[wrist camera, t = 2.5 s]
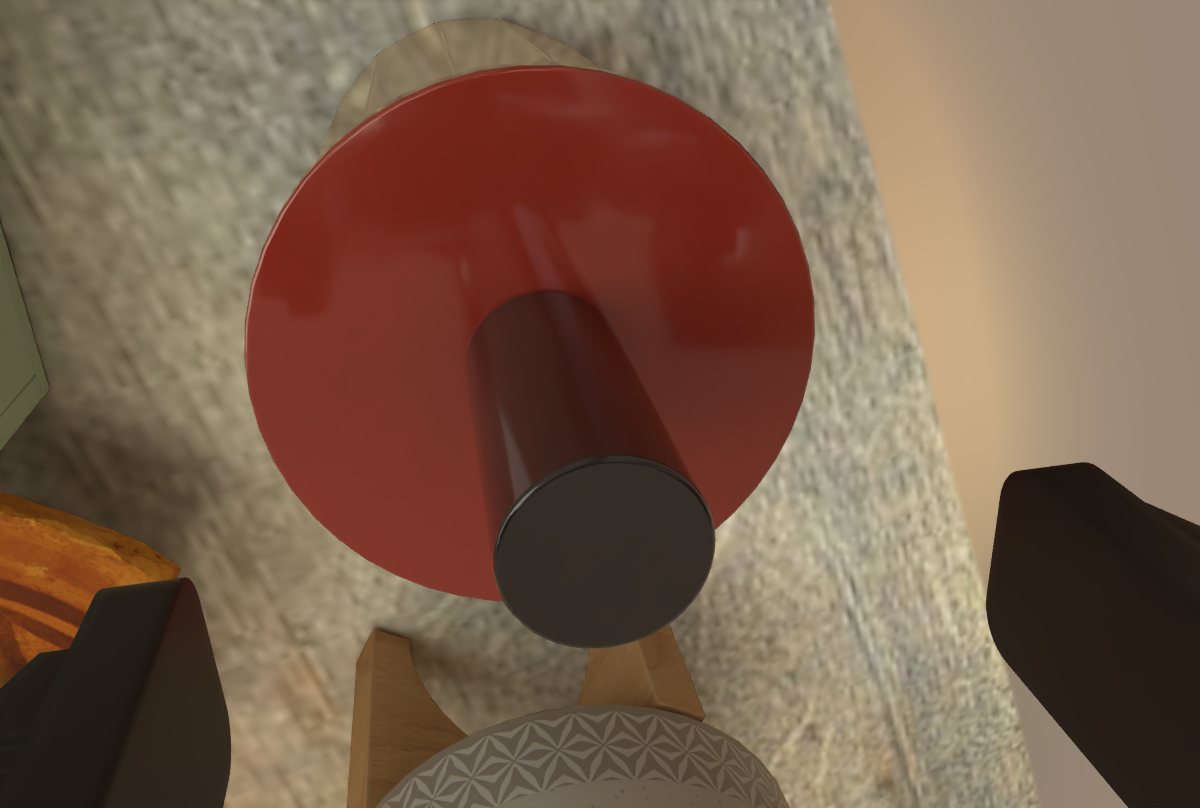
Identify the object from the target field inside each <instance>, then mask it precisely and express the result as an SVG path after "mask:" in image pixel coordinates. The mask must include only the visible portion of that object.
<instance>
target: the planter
mask: <svg viewBox="0 0 1200 808" xmlns="http://www.w3.org/2000/svg"><path fill="white" fill-rule="evenodd" d="M704 718H705V714H704V712H703V709H702V706H701V704H700V701H699V699H698V696H697V694H696V691H695V688H694V686H693V683H692V681H691V678H690V676H689V673H688V670H687V668H686V665H685V663H684V660H683V658H682V655H681V652H680V650H679V647H678V645H677V642H676V640H675V637H674V634H673V632H672V629H671V627H670V624H668V625H667V626H665V627H664V628H662V629H661V630H659V631H657V632H655V633H653V634H652V635H649V636H647V637H645V638H643V639H640V640H638V641H635V642H631V643H628V644H625V645H620V646H615V647H609V648H598V649H594V648H590V653H589V660H588V665H587V670H586V675H585V680H584V684H583V688H582V692H581V696H580V700H579V704H578V706H574V707H567V708H561V709H554V710H547V711H541V712H538V713H534V714H530V715H527V716H523V717H519V718H515V719H512V720H508V721H505V722H502V723H500V724H497V725H495V726H492V727H490V728H487V729H485V730H482V731H480V732H477V733H475V734H472V735H470V736H467V735H466V734H465V733H464V732H463V731H462V730H460V729H459V728H458V727H457V726H456V725H455V724H454V723H453V722H452V721H451V720H450V719H449V718H448V717H447V716H446V715H445V714H444V713H443V712H442V710H441V709H440V708H439V707H438V705H437V704H436V703H435V701H434V700H433V699H432V698H431V696H430V695H429V693H428V691H427V690H426V688H425V687H424V685H423V683H422V682H421V680H420V677H419V675H418V673H417V671H416V669H415V666H414V664H413V661H412V658H411V654H410V644H409V640H408V639H405V638H401V637H398V636H395V635H391V634H388V633H385V632H381V631H378V630H373V631H372V633H371V635H370V637H369V639H368V641H367V643H366V645H365V647H364V649H363V651H362V653H361V655H360V657H359V659H358V661H357V663H356V677H355V692H354V707H353V723H352V738H351V753H350V768H349V783H348V798H347V808H790V807H789V805H788V803H787V801H786V799H785V797H784V795H783V793H782V791H781V789H780V787H779V785H778V783H777V781H776V779H775V778H774V777H773V776H772V774H771V773H770V772H769V771H768V769H767V768H766V767H765V766H764V764H763V763H762V762H761V760H760V759H758V758H757V757H756V756H755V755H754V754H753V753H751V752H750V751H749V750H748V749H747V748H746V747H744V746H743V745H742V744H741V743H740V742H739V741H737V740H735V739H733V738H732V737H730V736H728V735H727V734H725V733H723V732H722V731H720V730H718V729H716V728H715V727H713V726H710V725H708V724H705V723H703V722H702V721H703V719H704Z"/></svg>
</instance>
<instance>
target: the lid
mask: <svg viewBox="0 0 1200 808" xmlns="http://www.w3.org/2000/svg"><path fill="white" fill-rule="evenodd" d="M814 337H815V318H814V296H813V289H812V283H811V277H810V270H809V265H808V262H807V259H806V255H805V252H804V249H803V245H802V242H801V239H800V235H799V232H798V230H797V228H796V226H795V224H794V222H793V220H792V217H791V215H790V213H789V211H788V209H787V207H786V205H785V202H784V201H783V199H782V197H781V196H780V194H779V193H778V191H777V190H776V188H775V187H774V185H773V184H772V182H771V181H770V179H769V178H768V176H767V174H766V173H765V171H764V170H763V169H762V168H761V167H760V166H759V164H758V163H757V162H756V161H755V160H754V159H753V158H752V157H751V155H750V154H749V153H748V152H747V151H746V150H745V149H744V147H743V146H742V145H741V144H740V143H739V142H738V141H737V140H735V139H734V138H733V137H732V136H731V135H730V134H728V133H727V132H726V131H725V130H724V129H722V128H721V127H720V126H719V125H718V124H717V123H715V122H714V121H713V120H712V119H711V118H709V117H707V116H706V115H704V114H703V113H701V112H699V111H698V110H696V109H695V108H693V107H692V106H690V105H688V104H687V103H685V102H684V101H682V100H680V99H679V98H677V97H675V96H674V95H672V94H670V93H667V92H665V91H663V90H661V89H658V88H656V87H654V86H652V85H649V84H647V83H645V82H643V81H641V80H638V79H636V78H632V77H629V76H625V75H622V74H618V73H615V72H611V71H608V70H604V69H601V68H596V67H589V66H582V65H575V64H568V63H561V62H516V63H509V64H501V65H494V66H487V67H479V68H475V69H471V70H468V71H464V72H460V73H457V74H453V75H450V76H446V77H443V78H439V79H436V80H434V81H432V82H429V83H427V84H425V85H422V86H420V87H418V88H415V89H413V90H411V91H409V92H406V93H404V94H402V95H399V96H398V97H396V98H394V99H393V100H391V101H390V102H388V103H386V104H385V105H383V106H381V107H380V108H378V109H376V110H375V111H373V112H372V113H370V114H368V115H367V116H365V117H364V118H362V119H361V120H360V121H359V122H358V123H356V124H355V125H354V126H353V127H351V128H350V129H349V130H348V131H347V132H345V133H344V134H343V135H342V136H341V137H339V138H338V139H337V140H336V141H334V142H333V143H332V144H331V145H330V146H329V148H328V149H327V150H326V151H325V152H324V153H323V154H322V155H321V156H320V157H319V158H318V160H317V161H316V162H315V163H314V164H313V165H312V166H311V167H310V168H309V169H308V170H307V172H306V173H305V174H304V176H303V177H302V179H301V180H300V181H299V183H298V184H297V186H296V187H295V189H294V190H293V192H292V193H291V195H290V196H289V198H288V199H287V201H286V202H285V203H284V205H283V207H282V209H281V211H280V213H279V215H278V217H277V219H276V221H275V223H274V225H273V227H272V229H271V231H270V233H269V235H268V237H267V240H266V242H265V244H264V246H263V249H262V252H261V255H260V258H259V261H258V264H257V267H256V271H255V274H254V277H253V280H252V283H251V288H250V294H249V300H248V307H247V313H246V319H245V366H246V374H247V381H248V389H249V395H250V399H251V402H252V406H253V409H254V413H255V416H256V420H257V424H258V427H259V430H260V432H261V434H262V437H263V439H264V441H265V443H266V446H267V448H268V450H269V452H270V455H271V457H272V459H273V461H274V463H275V464H276V466H277V468H278V469H279V471H280V472H281V474H282V476H283V477H284V479H285V480H286V482H287V484H288V485H289V487H290V488H291V490H292V491H293V492H294V494H295V495H296V496H297V497H298V498H299V500H300V501H301V502H302V503H303V504H304V506H305V507H306V508H307V509H308V510H309V512H310V513H311V514H312V515H313V516H314V517H315V518H316V519H317V520H318V521H319V522H320V523H321V524H322V525H323V526H324V527H325V528H327V529H328V530H329V531H330V532H331V533H332V534H333V535H334V536H335V537H336V538H337V539H339V540H340V541H341V542H343V543H344V544H345V545H347V546H348V547H350V548H351V549H352V550H354V551H355V552H357V553H358V554H360V555H361V556H362V557H364V558H365V559H367V560H368V561H370V562H372V563H374V564H376V565H378V566H380V567H381V568H383V569H385V570H387V571H389V572H391V573H393V574H395V575H397V576H399V577H402V578H404V579H407V580H409V581H412V582H414V583H417V584H420V585H422V586H425V587H427V588H431V589H435V590H439V591H443V592H446V593H450V594H454V595H458V596H463V597H470V598H478V599H485V600H492V601H504V603H505V605H506V606H507V607H508V609H509V610H510V611H511V613H512V614H513V615H514V616H515V617H516V618H517V619H518V620H519V621H520V622H521V623H522V624H523V625H524V626H526V627H527V628H529V629H530V630H531V631H533V632H534V633H536V634H538V635H539V636H541V637H543V638H545V639H547V640H550V641H553V642H555V643H558V644H562V645H566V646H570V647H577V648H594V649H598V648H609V647H615V646H620V645H625V644H628V643H631V642H635V641H638V640H640V639H643V638H645V637H647V636H649V635H652V634H653V633H655V632H657V631H659V630H661V629H662V628H664V627H665V626H667V625H668V624H669V623H671V622H672V621H674V620H675V619H676V618H677V617H678V616H679V615H681V614H682V613H683V612H684V611H685V610H686V609H687V608H688V606H689V605H690V604H691V603H692V602H693V601H694V599H695V598H696V596H697V595H698V594H699V592H700V591H701V589H702V587H703V585H704V583H705V581H706V580H707V577H708V574H709V572H710V569H711V566H712V561H713V557H714V553H715V529H717V528H718V527H719V526H720V525H721V524H722V523H723V522H724V521H725V520H727V519H728V518H729V517H730V516H731V515H732V514H733V513H734V512H735V511H736V510H737V509H738V508H739V507H740V506H741V504H742V503H743V502H744V501H745V500H746V499H747V498H748V497H749V495H750V494H751V493H752V492H753V491H754V490H755V489H756V487H757V486H758V485H759V483H760V482H761V480H762V479H763V478H764V476H765V475H766V473H767V472H768V470H769V469H770V467H771V466H772V465H773V463H774V462H775V460H776V458H777V457H778V455H779V453H780V451H781V449H782V447H783V445H784V443H785V442H786V440H787V438H788V436H789V434H790V432H791V430H792V427H793V425H794V422H795V420H796V417H797V414H798V412H799V409H800V407H801V404H802V401H803V398H804V394H805V390H806V386H807V382H808V378H809V374H810V370H811V363H812V354H813V345H814Z"/></svg>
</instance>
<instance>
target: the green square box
mask: <svg viewBox="0 0 1200 808" xmlns="http://www.w3.org/2000/svg"><path fill="white" fill-rule="evenodd" d="M48 390H49V386H48V382H47V379H46V376H45V372H44V369H43V365H42V362H41V359H40V355H39V352H38V349H37V345H36V342H35V339H34V335H33V332H32V328H31V325H30V322H29V318H28V315H27V312H26V308H25V305H24V302H23V298H22V295H21V291H20V288H19V285H18V281H17V278H16V275H15V271H14V268H13V265H12V261H11V258H10V254H9V251H8V248H7V244H6V241H5V238H4V234H3V231H2V228H1V224H0V451H1V449H2V448H3V447H4V446H5V444H6V443H7V442H8V441H9V439H10V438H11V437H12V435H13V434H14V433H15V432H16V430H17V429H18V428H19V427H20V425H21V424H22V423H23V422H24V420H25V419H26V418H27V417H28V415H29V414H30V413H31V411H32V410H33V409H34V408H35V406H36V405H37V404H38V403H39V401H40V400H41V399H42V396H44V395H45V393H46V392H47V391H48Z"/></svg>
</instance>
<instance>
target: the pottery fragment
mask: <svg viewBox="0 0 1200 808" xmlns="http://www.w3.org/2000/svg"><path fill="white" fill-rule="evenodd" d="M180 572H181V571H180V568H179V567H178V566H177V565H176V564H175V563H174V562H172V561H171V560H169V559H167V558H165V557H164V556H162V555H161V554H159V553H157V552H156V551H154V550H153V549H151V548H150V547H149V546H147V545H146V544H145V543H143V542H140V541H138V540H136V539H134V538H131V537H129V536H127V535H125V534H122V533H119V532H116V531H114V530H112V529H110V528H105V527H101V526H99V525H96V524H94V523H92V522H90V521H87V520H85V519H82V518H80V517H77V516H74V515H72V514H69V513H66V512H64V511H61V510H58V509H54V508H51V507H48V506H45V505H42V504H39V503H35V502H32V501H29V500H26V499H23V498H20V497H17V496H13V495H9V494H6V493H2V492H0V688H1V687H3V686H4V685H5V684H6V683H7V682H8V681H9V680H10V679H11V678H12V677H13V676H15V675H16V674H17V673H18V672H19V671H20V670H21V669H22V668H23V667H24V666H25V665H27V664H28V663H29V662H30V661H31V660H32V659H33V658H34V657H35V656H36V655H38V654H39V653H42V652H49V651H57V650H64V649H69V648H70V646H71V644H72V642H73V640H74V637H75V635H76V633H77V631H78V629H79V627H80V625H81V623H82V621H83V619H84V616H85V614H86V612H87V610H88V608H89V606H90V604H91V602H92V600H93V598H94V596H95V594H96V593H97V592H98V591H99V590H100V589H102V588H109V587H116V586H124V585H132V584H139V583H147V582H155V581H162V580H170V579H177V578H178V575H179V573H180Z"/></svg>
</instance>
